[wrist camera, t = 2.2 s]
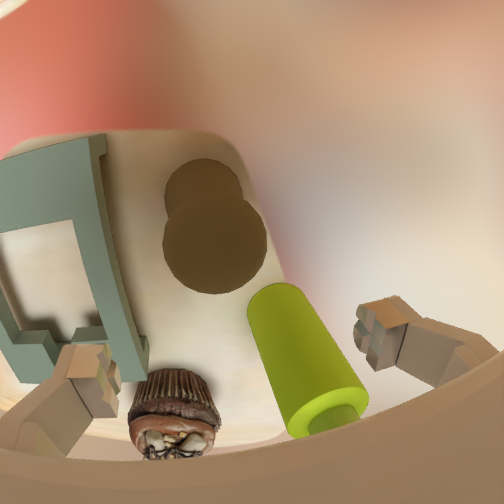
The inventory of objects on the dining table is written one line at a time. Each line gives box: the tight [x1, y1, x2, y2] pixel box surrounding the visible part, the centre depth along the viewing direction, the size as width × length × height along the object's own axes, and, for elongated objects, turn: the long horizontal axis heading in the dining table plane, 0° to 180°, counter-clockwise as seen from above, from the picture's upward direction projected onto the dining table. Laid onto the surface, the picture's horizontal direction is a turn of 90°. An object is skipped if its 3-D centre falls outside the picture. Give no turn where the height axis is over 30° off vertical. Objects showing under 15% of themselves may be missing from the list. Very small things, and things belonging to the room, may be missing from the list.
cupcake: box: [128, 369, 222, 460], centre depth 27 cm, size 10×10×10 cm
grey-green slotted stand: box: [0, 134, 149, 384], centre depth 21 cm, size 20×14×4 cm
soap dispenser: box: [247, 283, 369, 439], centre depth 21 cm, size 6×7×20 cm
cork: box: [162, 159, 267, 294], centre depth 19 cm, size 6×6×11 cm
